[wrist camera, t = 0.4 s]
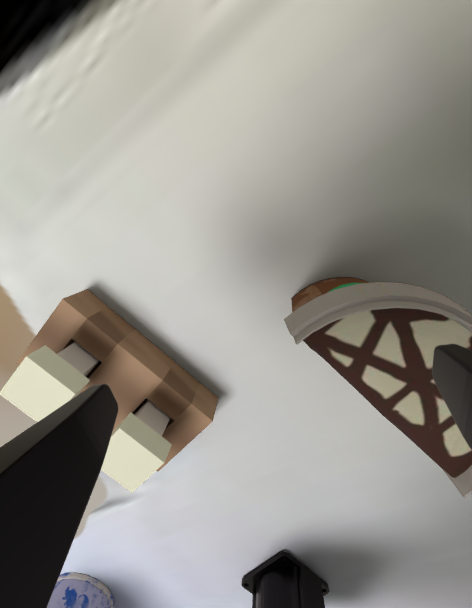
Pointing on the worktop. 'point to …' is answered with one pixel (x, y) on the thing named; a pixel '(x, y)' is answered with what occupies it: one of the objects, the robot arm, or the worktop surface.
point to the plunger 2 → (137, 447)
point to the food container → (391, 355)
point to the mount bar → (129, 367)
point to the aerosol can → (80, 593)
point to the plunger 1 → (49, 379)
